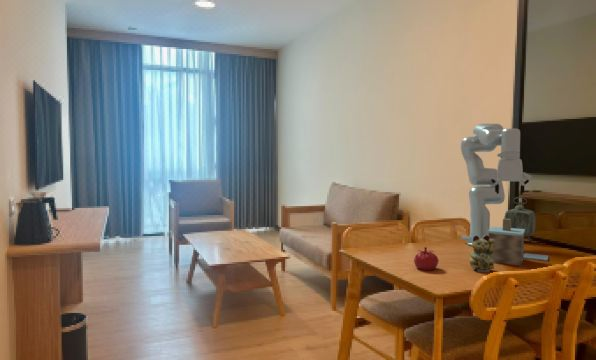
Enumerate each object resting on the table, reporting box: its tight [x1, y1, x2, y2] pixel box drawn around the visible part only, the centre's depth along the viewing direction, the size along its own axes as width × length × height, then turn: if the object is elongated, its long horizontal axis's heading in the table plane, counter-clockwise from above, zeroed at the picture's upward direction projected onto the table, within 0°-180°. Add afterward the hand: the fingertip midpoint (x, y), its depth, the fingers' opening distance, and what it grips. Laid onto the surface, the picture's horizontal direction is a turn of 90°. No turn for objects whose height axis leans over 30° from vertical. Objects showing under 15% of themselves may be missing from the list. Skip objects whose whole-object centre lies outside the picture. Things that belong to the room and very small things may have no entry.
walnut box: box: [489, 233, 525, 266], centre depth 187 cm, size 13×13×13 cm
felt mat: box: [523, 252, 549, 262], centre depth 193 cm, size 10×10×1 cm
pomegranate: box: [413, 246, 440, 271], centre depth 174 cm, size 10×10×9 cm
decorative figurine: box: [468, 235, 495, 273], centre depth 172 cm, size 10×8×15 cm
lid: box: [488, 218, 525, 236], centre depth 187 cm, size 14×14×6 cm
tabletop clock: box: [503, 196, 537, 243], centre depth 230 cm, size 14×9×25 cm, turn 49°
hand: (509, 194), depth 186 cm, fingers open, 9 cm apart
